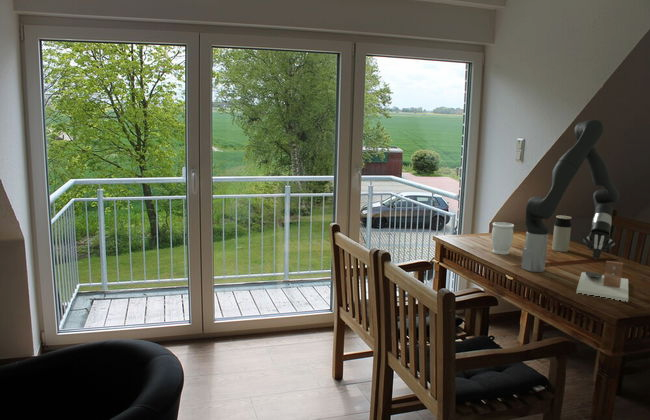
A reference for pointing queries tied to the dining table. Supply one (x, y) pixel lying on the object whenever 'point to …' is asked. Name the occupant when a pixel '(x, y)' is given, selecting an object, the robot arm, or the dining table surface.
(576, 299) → the dining table surface
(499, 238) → the jar
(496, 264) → the dining table surface
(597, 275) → the tile one dot
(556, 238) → the travel mug
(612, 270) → the tile two dots
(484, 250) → the dining table surface
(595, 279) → the board
